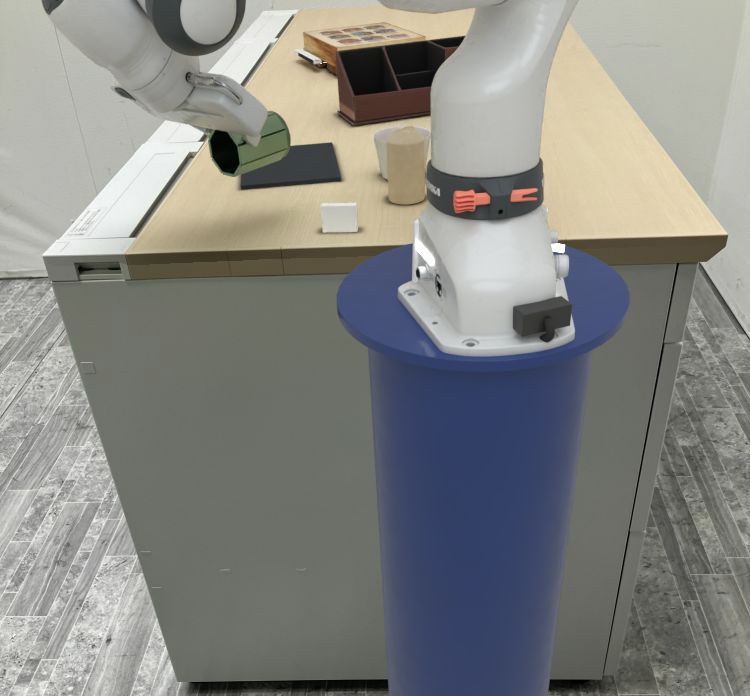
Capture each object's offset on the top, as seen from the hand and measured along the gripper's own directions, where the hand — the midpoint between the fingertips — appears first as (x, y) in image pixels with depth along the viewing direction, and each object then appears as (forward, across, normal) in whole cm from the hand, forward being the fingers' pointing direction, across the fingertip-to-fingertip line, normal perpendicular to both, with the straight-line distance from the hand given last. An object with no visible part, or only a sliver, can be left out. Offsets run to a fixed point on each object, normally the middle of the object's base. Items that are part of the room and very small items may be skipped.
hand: (235, 137), depth 110 cm
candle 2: (+30, -5, -12) cm, 32 cm away
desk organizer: (+53, +18, -36) cm, 66 cm away
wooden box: (+73, +58, -56) cm, 109 cm away
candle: (+24, -12, -6) cm, 27 cm away
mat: (+25, +15, -8) cm, 30 cm away
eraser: (+13, -12, +5) cm, 18 cm away
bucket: (+5, 0, +2) cm, 5 cm away
